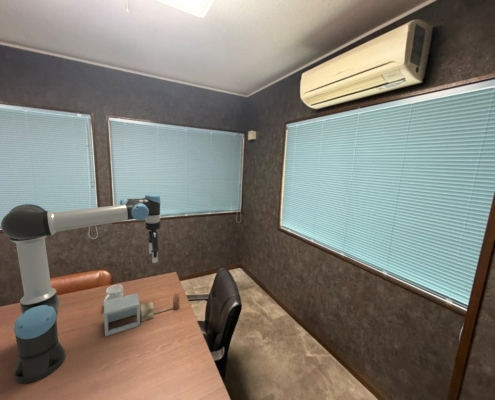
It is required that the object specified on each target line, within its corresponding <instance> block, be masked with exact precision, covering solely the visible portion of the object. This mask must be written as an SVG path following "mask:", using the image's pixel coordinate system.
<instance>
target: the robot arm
mask: <svg viewBox="0 0 495 400" xmlns="http://www.w3.org/2000/svg"><path fill="white" fill-rule="evenodd" d="M161 217H162V215H161V196H160V195H159V194H157V193H147V194H145V196H144V197H143V198H125V199H120V201H119V204H116V205H108V206H98V207H91V208H83V209H73V210H67V211H66V210H65V211H56V212H52V211H51V210H46V209H45V208H44V207H42V206H41V205H39V204H34V203H25V204H20V205H17V206H15V207H13V208H12V209H11V210H10V211H9V212H7V214H6V215H5V216H4V217H3V218H2V219H1V222H0V228H1V231H2V232H3V233H4V234H5V235H6V236H7V237H9V241H10V242H12V243H15V247H16V250H17V257H18V263H19V264H18V265H19V269H20V270H19V271H20V277H21V284H22V289H23V296H22V297H21V298H20V299H19V304H20V311H21V314H20V315H18V317H17V319H16V320H15V321H14V326H13V327H14V328H13V331H14V335H15V341H16V349H17V354H18V359H17V360H16V365H15V366H14V370H13V377H14V380H15V382H17V383H18V384H31V383H34V382H37V381H40V380H42V379H44V378H45V377H47V376H49V375H51V374H52V373H53V372H55V371H56V370H57V369H59V367H60V366H61V365H62V364H63V363H64V361H65V358H66V350H65V348H64V346H63V345H62V343H61V342H60V340H59V334H58V333H59V332H58V316H59V315H58V314H59V307H60V300H59V299H60V298H59V296H58V294H57V293H58V292H57V289H56V288H54V287H52V283H51V282H52V281H51V276H50V274H51V273H50V269H49V268H50V267H49V260H48V255H47V254H48V253H47V247H46V246H47V245H46V238H47V237H48V236H49V237H50V236H53V235H54V234H56V233H57V232H63V231H64V232H65V231H69V230H76V229H81V228H88V227H94V226H100V225H101V226H102V225H107V224H112V223H118V222H119V223H120V222H126V221H131V220H137V221H144V220H145V230H147V231H148V238H147V239H148V254H149V255H150V254H151V260H152V261H151V263H152V264H155V263H159V262H158V261H159V258H158V257H159V255H158V253H159V243H158V242H159V241H158V232H157V230H160V228H161V222H160V221H161Z"/></svg>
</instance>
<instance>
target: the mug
mask: <svg viewBox="0 0 495 400" xmlns="http://www.w3.org/2000/svg"><path fill="white" fill-rule="evenodd" d="M105 291H106V292H105V293H106V294H105V295H106V296H105V297H104V298H103V299H104V300H103V307H104V303H105V301H106V300H110V299H114V298H118V297H123V296H124V287H123V285H122V284H114V285H111V286H109V287H107V289H106V290H105Z"/></svg>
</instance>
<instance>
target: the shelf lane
mask: <svg viewBox="0 0 495 400" xmlns="http://www.w3.org/2000/svg"><path fill="white" fill-rule="evenodd" d="M133 316H136V320H137V321H135V322H130V323H128V324H125V325H121V326H118V327H115V328H112V329H109V323H112V322H116V321H119V320H122V319H125V318H130V317H133ZM103 318H104V319H103V321H104V322H103V323H104V335H105V337H107V336H110V335H114V334H117V333H120V332H123V331H126V330H130V329H133V328H137V327H140V326H141V310H140V299H139V295H138V292H136V293H132V294H128V295H127V294H126V295H123V297H118V298H114V299H110V300H106V301H105V303H104V306H103Z"/></svg>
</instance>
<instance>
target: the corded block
mask: <svg viewBox="0 0 495 400" xmlns="http://www.w3.org/2000/svg"><path fill="white" fill-rule="evenodd" d="M139 306H140V321H141V322H144V321H148V320H151V319H155V315H157V314H160V313H163V312H167V311H170V310H174V311H176V310H178V309H180V294H179V293H174V294H173V295H172V307H169V308H165V309H162V310H159V311H155V310H154V309H155V308H154V304H153V301H150V302H147V303H142V304H139ZM154 311H155V312H154Z"/></svg>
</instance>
